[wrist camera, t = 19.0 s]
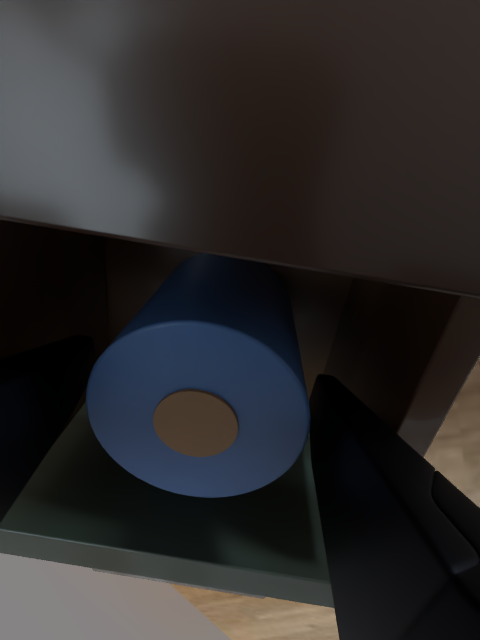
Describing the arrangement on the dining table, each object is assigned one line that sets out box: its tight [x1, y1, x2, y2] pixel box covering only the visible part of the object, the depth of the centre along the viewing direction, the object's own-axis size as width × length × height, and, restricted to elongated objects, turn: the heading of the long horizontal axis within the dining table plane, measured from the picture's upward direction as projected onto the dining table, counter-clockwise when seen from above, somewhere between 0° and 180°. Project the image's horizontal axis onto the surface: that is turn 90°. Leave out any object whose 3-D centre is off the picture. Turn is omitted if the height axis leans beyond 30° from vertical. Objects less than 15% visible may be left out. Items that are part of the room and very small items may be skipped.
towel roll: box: [86, 253, 311, 498], centre depth 9 cm, size 5×5×6 cm
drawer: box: [0, 220, 480, 608], centre depth 11 cm, size 17×11×7 cm, turn 171°
